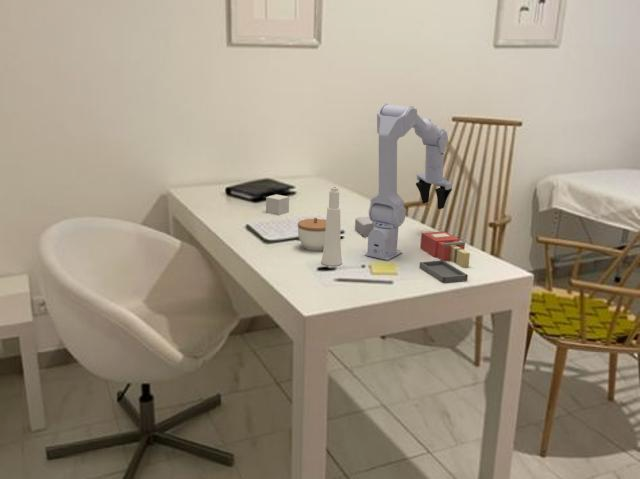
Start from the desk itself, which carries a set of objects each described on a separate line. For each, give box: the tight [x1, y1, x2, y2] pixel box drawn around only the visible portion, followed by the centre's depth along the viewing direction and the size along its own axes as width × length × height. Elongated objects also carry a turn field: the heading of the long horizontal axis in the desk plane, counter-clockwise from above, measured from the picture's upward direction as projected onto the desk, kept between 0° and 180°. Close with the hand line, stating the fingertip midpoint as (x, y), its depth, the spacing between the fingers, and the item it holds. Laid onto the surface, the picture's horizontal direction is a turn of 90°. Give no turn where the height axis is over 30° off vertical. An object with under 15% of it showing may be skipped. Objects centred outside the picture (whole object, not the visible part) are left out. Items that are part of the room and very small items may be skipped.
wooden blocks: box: [449, 245, 471, 268], centre depth 192 cm, size 10×2×4 cm, turn 20°
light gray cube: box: [265, 194, 290, 216], centre depth 241 cm, size 6×6×6 cm
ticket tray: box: [419, 259, 469, 284], centre depth 181 cm, size 13×8×2 cm, turn 20°
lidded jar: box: [297, 217, 326, 251], centre depth 200 cm, size 11×11×9 cm
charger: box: [354, 216, 374, 238], centre depth 221 cm, size 5×9×15 cm
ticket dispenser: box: [420, 230, 466, 262], centre depth 199 cm, size 13×8×5 cm, turn 20°
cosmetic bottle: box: [320, 186, 343, 267], centre depth 185 cm, size 6×6×22 cm
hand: (433, 205), depth 216 cm, fingers open, 7 cm apart
